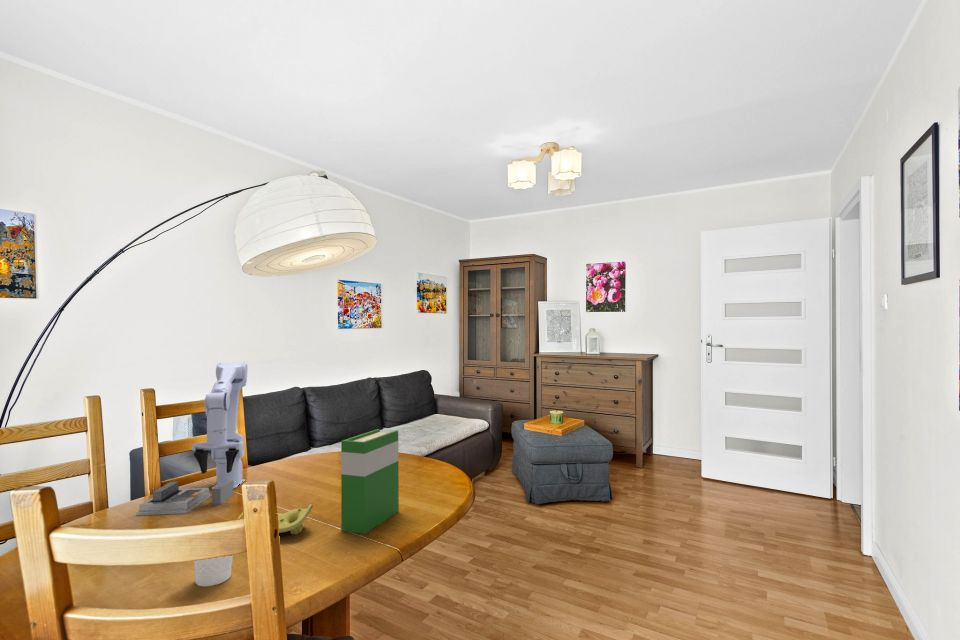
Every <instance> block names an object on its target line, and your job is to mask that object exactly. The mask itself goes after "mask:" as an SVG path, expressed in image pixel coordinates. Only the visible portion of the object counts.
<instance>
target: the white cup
mask: <svg viewBox="0 0 960 640" xmlns="http://www.w3.org/2000/svg"><path fill="white" fill-rule="evenodd" d="M233 557H234V554H233V555H232V556H225V557H218V558H211V559H205V560H197V561H194V560H193V563H194V564H193V565H194V566H193V567H194V576H195V579H194V582H195V584H196V585H197V586H198V587H213V586H217V585H220V584H222V583H225V582H226V581H227V580H229V579H230V578H231V575H232V564H233Z"/></svg>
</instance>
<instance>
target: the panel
mask: <svg viewBox="0 0 960 640" xmlns="http://www.w3.org/2000/svg"><path fill="white" fill-rule="evenodd" d="M233 481H234V480H225V481H224V482H222V483H221V484H219V485H218V486H216V487H215V488H213V489H211V491H212V492H211V496H212V497H211V505H212V506H217V505H218V506H219V505H222V504H223V503H224V502H226V501H228V499H229V498H231V497H232V496H234V488H233Z"/></svg>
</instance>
